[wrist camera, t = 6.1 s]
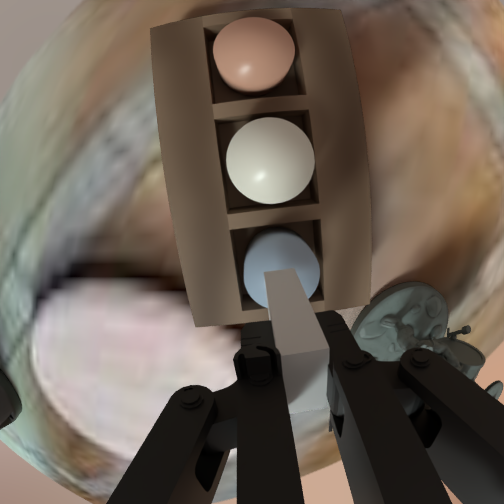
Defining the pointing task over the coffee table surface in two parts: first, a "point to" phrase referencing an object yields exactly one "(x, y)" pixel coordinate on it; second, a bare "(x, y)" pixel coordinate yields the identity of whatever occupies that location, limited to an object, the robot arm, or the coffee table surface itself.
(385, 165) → the coffee table surface
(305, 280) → the button slate
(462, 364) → the figurine
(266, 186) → the button cream
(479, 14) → the coffee table surface
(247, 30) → the button terracotta
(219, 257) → the button board
